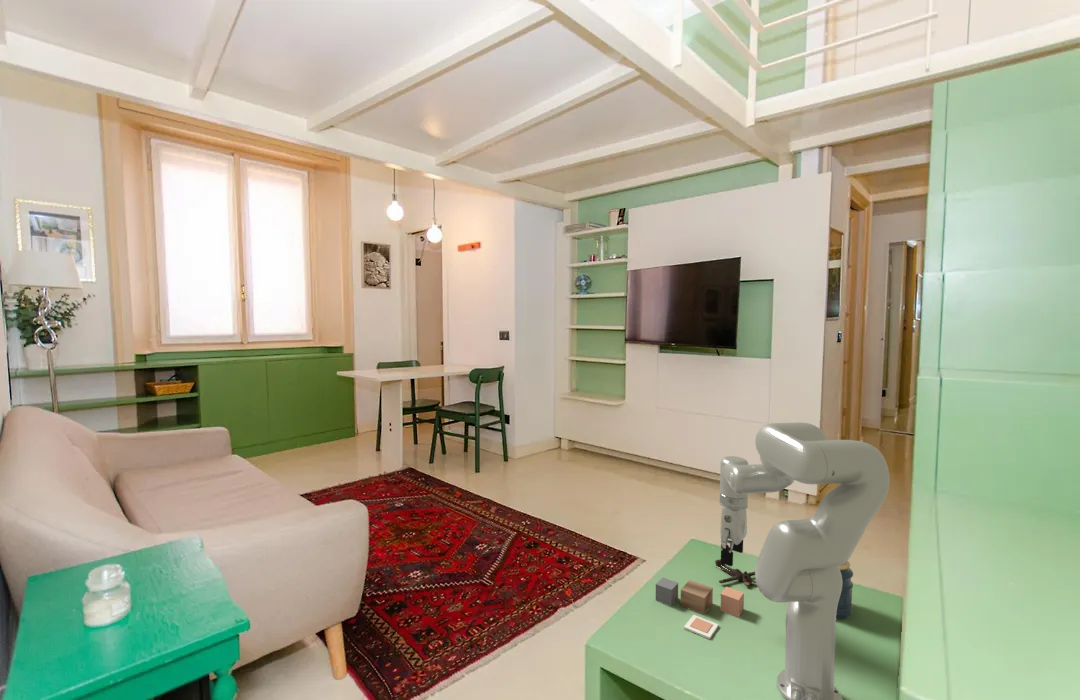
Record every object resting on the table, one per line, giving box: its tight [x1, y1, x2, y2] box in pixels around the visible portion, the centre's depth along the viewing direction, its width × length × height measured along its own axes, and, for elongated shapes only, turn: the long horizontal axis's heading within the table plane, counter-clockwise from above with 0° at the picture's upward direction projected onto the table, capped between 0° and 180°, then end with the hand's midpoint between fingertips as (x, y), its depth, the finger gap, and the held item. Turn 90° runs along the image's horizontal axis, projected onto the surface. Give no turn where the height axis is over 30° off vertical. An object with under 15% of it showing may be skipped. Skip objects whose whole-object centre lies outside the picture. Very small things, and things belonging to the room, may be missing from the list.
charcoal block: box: [655, 577, 679, 607], centre depth 140 cm, size 5×5×5 cm
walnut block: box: [680, 579, 714, 615], centre depth 137 cm, size 7×7×5 cm
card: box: [683, 614, 720, 640], centre depth 127 cm, size 7×7×1 cm
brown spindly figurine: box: [714, 558, 757, 587], centre depth 154 cm, size 18×4×14 cm
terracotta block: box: [720, 586, 745, 618], centre depth 135 cm, size 5×5×5 cm
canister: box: [836, 560, 854, 620], centre depth 136 cm, size 13×13×18 cm
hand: (732, 557), depth 135 cm, fingers open, 9 cm apart
